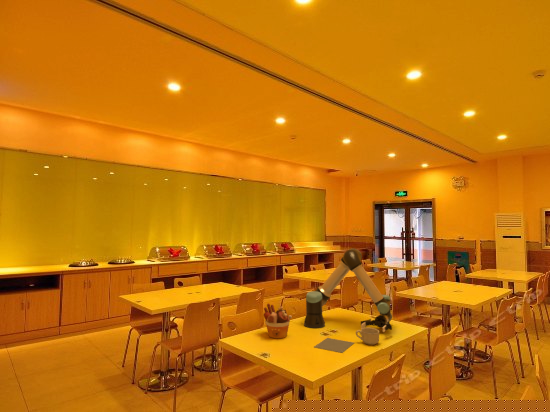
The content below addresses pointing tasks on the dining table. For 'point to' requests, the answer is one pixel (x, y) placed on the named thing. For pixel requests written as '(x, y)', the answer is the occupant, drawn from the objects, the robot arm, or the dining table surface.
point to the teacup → (369, 335)
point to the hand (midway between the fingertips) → (372, 328)
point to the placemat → (334, 345)
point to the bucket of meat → (276, 322)
